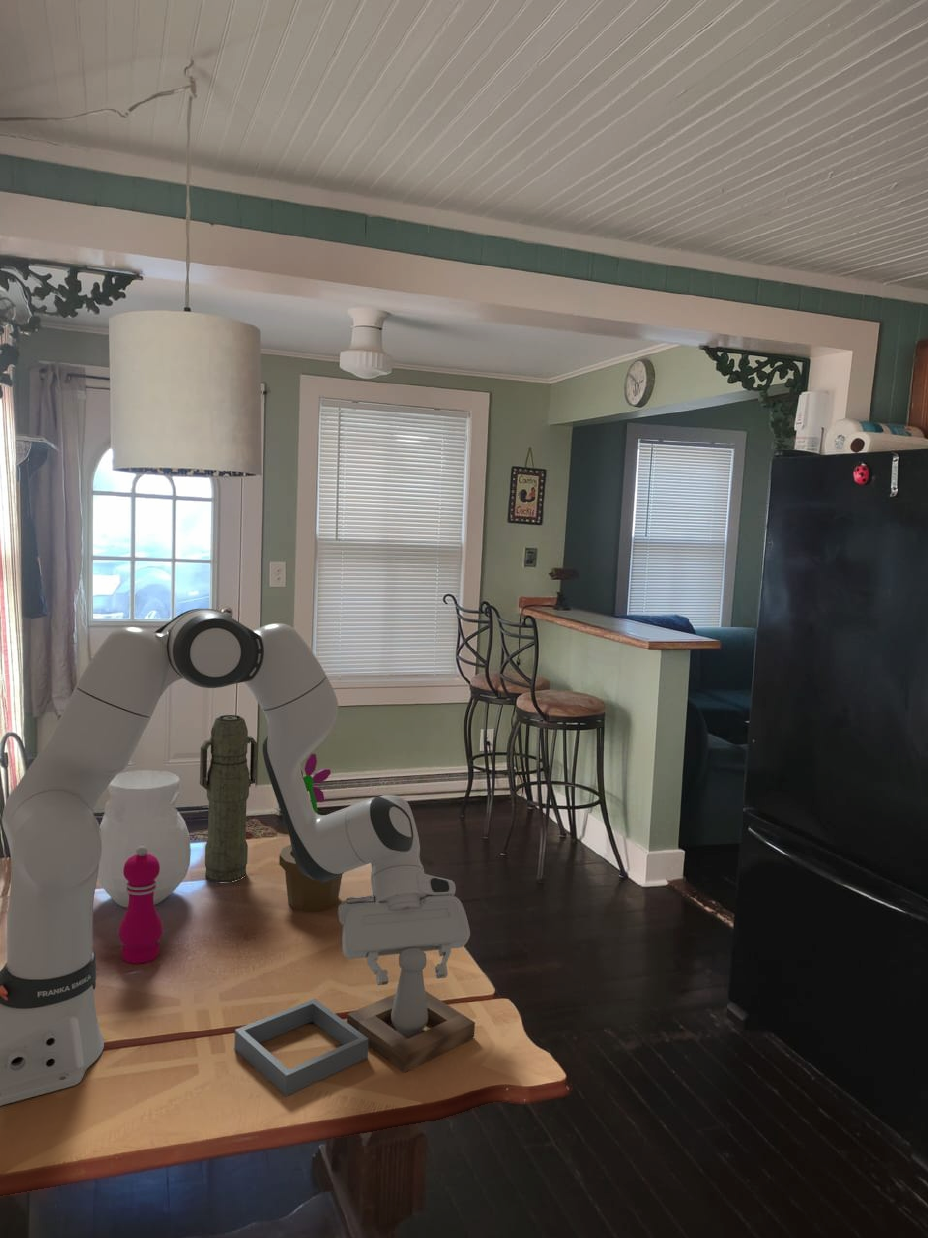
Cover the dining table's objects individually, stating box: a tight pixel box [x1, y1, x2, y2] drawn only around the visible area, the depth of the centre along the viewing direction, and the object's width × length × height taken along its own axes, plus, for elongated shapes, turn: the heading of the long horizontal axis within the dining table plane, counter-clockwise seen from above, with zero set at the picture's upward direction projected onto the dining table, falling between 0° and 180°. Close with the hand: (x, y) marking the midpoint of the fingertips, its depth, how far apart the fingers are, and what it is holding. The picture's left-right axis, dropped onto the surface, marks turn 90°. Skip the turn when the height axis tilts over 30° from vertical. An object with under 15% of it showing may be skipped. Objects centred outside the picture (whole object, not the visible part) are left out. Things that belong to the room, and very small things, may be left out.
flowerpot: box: [278, 753, 343, 912], centre depth 182 cm, size 14×14×30 cm
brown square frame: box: [346, 990, 476, 1073], centre depth 138 cm, size 14×14×2 cm
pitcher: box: [97, 769, 192, 909], centre depth 179 cm, size 19×18×25 cm
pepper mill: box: [118, 846, 163, 965], centre depth 157 cm, size 7×7×20 cm
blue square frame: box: [233, 998, 369, 1097], centre depth 132 cm, size 14×14×3 cm
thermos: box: [199, 714, 258, 884], centre depth 192 cm, size 9×12×35 cm
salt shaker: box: [391, 948, 428, 1039], centre depth 138 cm, size 6×6×13 cm
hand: (412, 980), depth 137 cm, fingers open, 8 cm apart
